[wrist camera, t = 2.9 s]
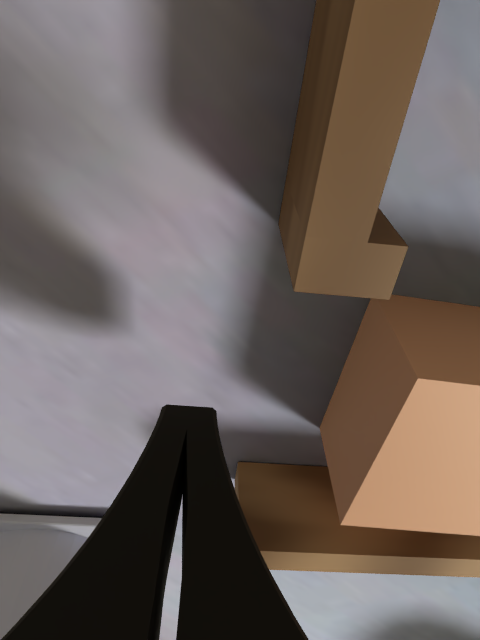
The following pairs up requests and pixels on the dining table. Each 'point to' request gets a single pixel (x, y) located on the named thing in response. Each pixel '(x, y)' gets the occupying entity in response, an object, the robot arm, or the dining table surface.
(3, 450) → the dining table surface
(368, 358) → the terracotta block
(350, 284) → the trap lane
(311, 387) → the dining table surface
